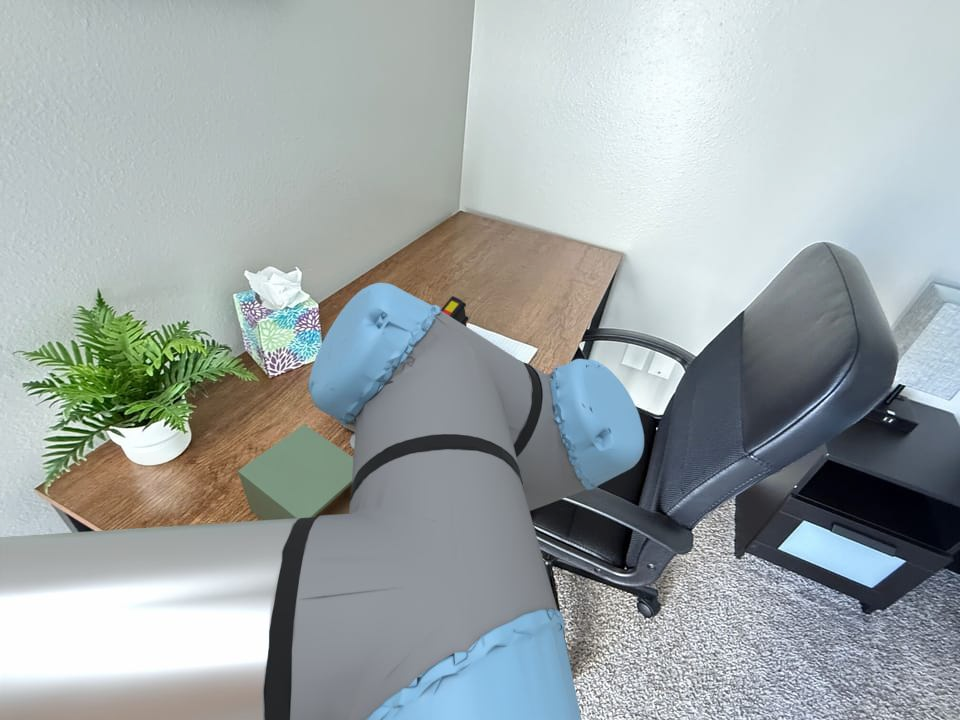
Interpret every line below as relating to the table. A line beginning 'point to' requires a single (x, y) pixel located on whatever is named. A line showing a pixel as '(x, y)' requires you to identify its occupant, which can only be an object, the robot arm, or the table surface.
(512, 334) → the table surface
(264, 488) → the cabinet
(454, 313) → the black electronic module
